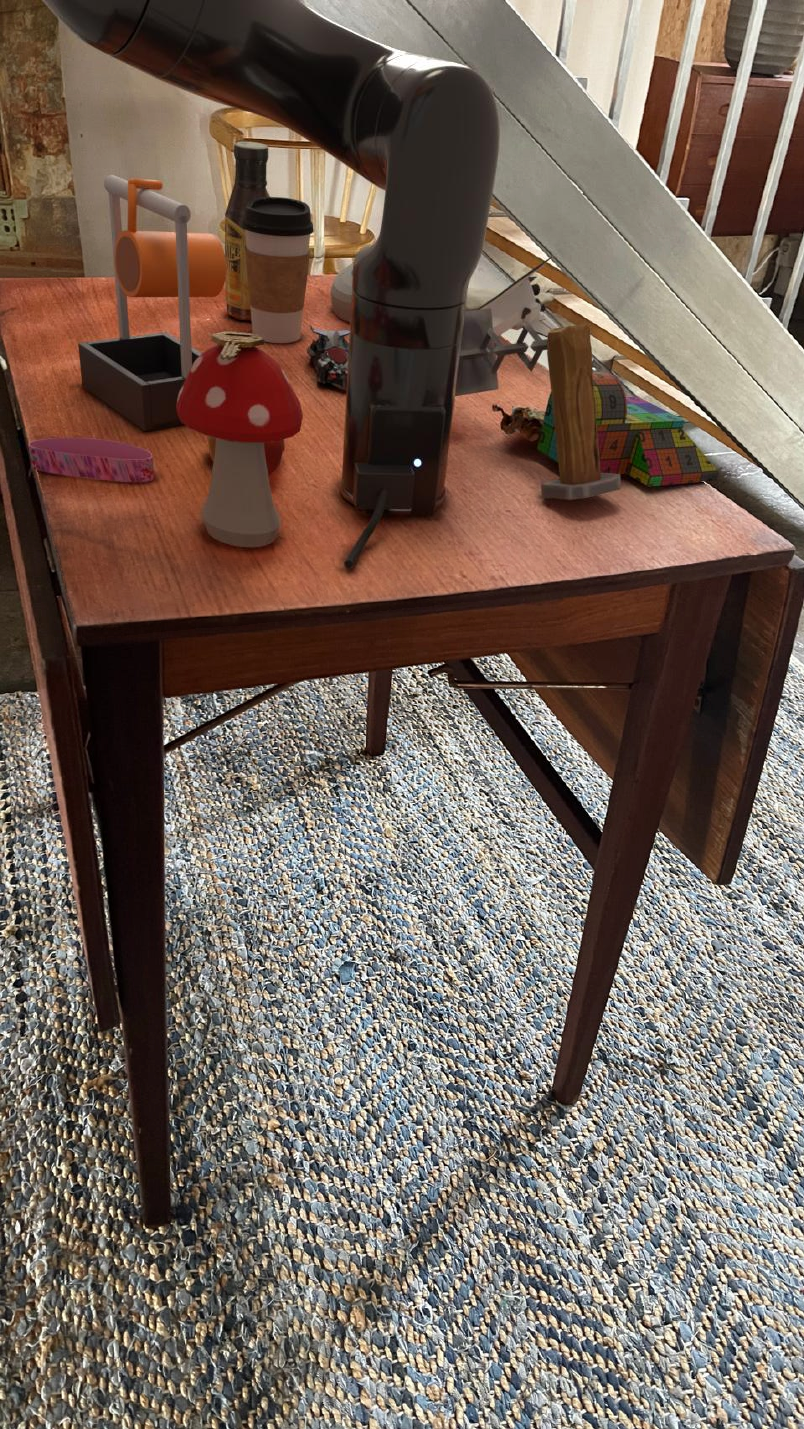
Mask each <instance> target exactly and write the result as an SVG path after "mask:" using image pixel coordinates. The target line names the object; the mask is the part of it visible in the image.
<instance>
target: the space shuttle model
mask: <svg viewBox="0 0 804 1429" xmlns="http://www.w3.org/2000/svg"><path fill="white" fill-rule="evenodd" d="M555 256H556V254H553V255H551V256H549V257H548V258H547V259H546V260H544V261H543V262H541V263H540V264H538V265H537V266H535V267H534V268H533V269H530V270H529V271H528V272H527V273H525V274H524V275H522V276H521V277H519V278H517V279H516V280H515V281H514V282H513V283H511V284H510V285H509V286H507V287H506V288H504V289H505V290H504V291H502V292H501V293H500V294H498V295H497V296H496V297H494V298H493V299H491V300H490V301H488V302H487V303H485V304H484V305H482V306H481V307H479V308H478V309H477V310H481V309H490V308H491V312H492V323H493V331H494V332H495V333H496V334H497V336H498V337H500V336H501V335H503V334H505V333H506V332H508V331H509V330H513V331H514V330H515V331H519V330H521V329H523V328H524V326H525V324H526V322H527V321H528V323H529V324H530V325H531V326H532V327H533V329H534V330H535V331H536V332H537V334H538V335H539V336H542V337H544V338H546V339H548V333H549V332H550V331H551V330H552V329H554V328H558V327H557V326H556V325H554V324H553V322H551V321H550V320H549V319H547V317H546V316H545V314H544V312H545V311H546V306H545V304H541V303H540V300H539V299H538V298H536V299H535V296H537V295H538V294H539V293H540V292H541V286H540V285H539V284H538V283H533V284H531V283H532V282H534V280H535V279H537V276H532V275H533V274H535V273H536V272H537V271H538V270H539V269H541V268H542V267H544V265H545V264H547V263H548V262H549V261H550V260H551V259H552V258H554V257H555Z"/></svg>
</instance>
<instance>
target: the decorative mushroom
mask: <svg viewBox="0 0 804 1429" xmlns="http://www.w3.org/2000/svg"><path fill="white" fill-rule="evenodd" d="M223 348H224V346H222V345H219V344H216V345H213V346H211V347H208V349H205V350H204V351H203V352H201V353H202V354H201V355H200V356H199V357H198V358H197V359H196V360H195V362H194V363H193V365H192V367H191V369H190V372H189V374H188V376H187V378H186V380H185V382H184V384H183V386H182V388H181V390H180V392H179V395H178V399H177V403H176V409H177V413H178V416H179V418H180V421H181V422H182V423H183V424H184V425H185V426H186V427H187V428H189V429H190V430H192V431H195V432H196V433H197V432H198V433H199V434H201V435H204V436H206V437H207V436H210V437H213V438H216V446H215V456H214V462H213V461H212V469H211V477H210V483H209V488H208V493H207V496H206V498H205V500H204V503H203V506H202V507H201V510H200V516H201V519H202V521H203V525H204V527H205V530H206V532H207V534H208V535H209V536H211V537H212V538H213V539H214V540H216V541H218V542H220V543H223V544H227V545H230V546H234V547H239V548H260V547H265V546H268V545H270V544H273V542H275V540H276V538H277V535H278V533H279V530H280V527H281V524H282V523H281V522H282V521H281V518H280V515H279V513H278V510H277V508H276V506H275V504H274V498H273V494H272V490H271V484H270V478H269V477H270V476H268V470H267V464H266V458H265V449H264V443H266V442H274V441H280V440H283V439H284V440H286V439H289V438H293V437H294V436H296V435H297V434H298V433H299V432H301V428H302V424H303V423H302V422H303V417H304V414H303V410H302V409H303V408H302V406H301V402H300V399H299V397H298V395H297V394H296V392H295V391H294V389H293V387H292V385H291V383H290V380H289V377H288V376H287V374H286V373H285V370H284V369H283V368H282V367H281V366H280V364H279V363H278V362H277V361H276V359H274V358H273V357H272V356H271V355H270V354H268V353H267V352H265V351H263V350H262V349H260V348H258V347H257V346H255V347H250V348H245V347H244V348H243V347H241V348H239V349H241V352H240V353H237V357H236V358H235V359H231V360H228V359H226V358H224V360H222V359H221V352H222V350H223Z"/></svg>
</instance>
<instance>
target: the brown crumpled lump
mask: <svg viewBox="0 0 804 1429" xmlns="http://www.w3.org/2000/svg"><path fill="white" fill-rule="evenodd" d="M491 410H492V411H493V412H494V413H495V412H501V415H502V419H501V420H500V423H499V426H500V430H501V431H503V432H504V434H505V435H508V436H509V435H512V434H514V433H516V432H517V431H519V433H520V434H521V435H523V436H524V437H525V438H526V439H527V441H529V442H535V441H536V440H537V441H539V438H540V433H541V429H542V426H543V424H544V416H545V412H546V410H545V411H544V410H542V409H538V408H532V407H530V406H526V407H522V406H520V405H519V404H516V405H513V406H512V409H511V413H510V414H508V413H506V412H505V410H504V408H502V407H501V406H498V405H497V403H495V404H493V403H492V405H491Z"/></svg>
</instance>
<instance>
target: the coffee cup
mask: <svg viewBox="0 0 804 1429" xmlns="http://www.w3.org/2000/svg"><path fill="white" fill-rule="evenodd" d="M242 221H243V223H242V227H243V228H244V229H245V232H246V246H245V254H246V265H247V276H248V287H249V297H250V305H251V319H252V321H251V331H252V332H251V333H254V334H256V335H258V336H260V337H263V338H264V343H271V344H290V343H294V342H298V341H299V340H300V339H301V336H302V326H303V314H304V308H305V299H306V291H307V283H308V274H309V266H310V257H311V250H310V241H311V234H313V233H314V232H315V229H314V223H313V222H312V216H311V208H310V205H308V204H307V203H306V202H304V201H302V200H298V199H294V198H289V197H283V196H270V197H263V198H257V199H254V200H252V201H250V202H249V203H247V205H246V211H245V217H244V218H243V220H242Z"/></svg>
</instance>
